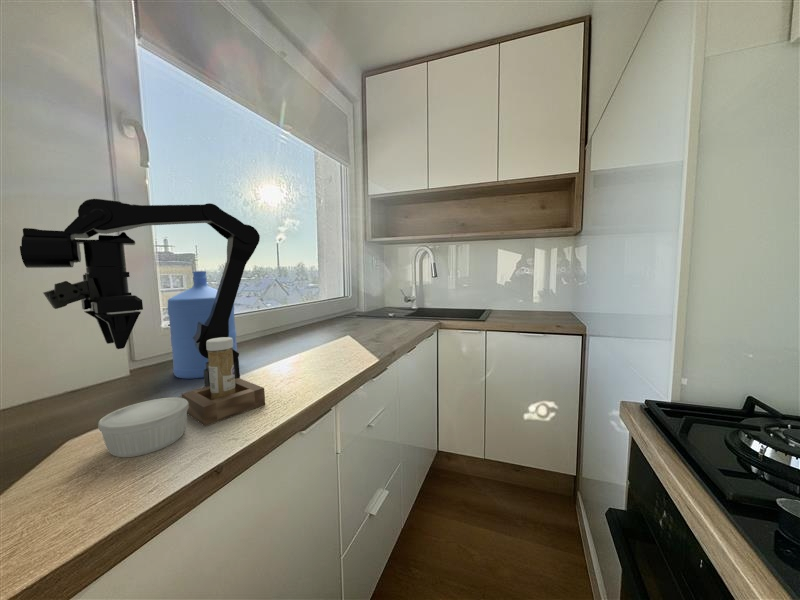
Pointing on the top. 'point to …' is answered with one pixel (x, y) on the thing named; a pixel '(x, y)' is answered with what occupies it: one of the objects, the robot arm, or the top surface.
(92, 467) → the top surface
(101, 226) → the robot arm
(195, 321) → the water jug
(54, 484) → the top surface
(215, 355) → the sprinkles bottle
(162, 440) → the ramekin
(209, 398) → the socket block
